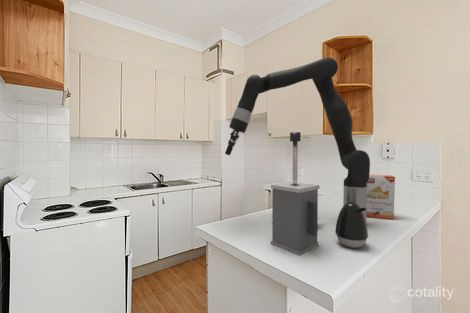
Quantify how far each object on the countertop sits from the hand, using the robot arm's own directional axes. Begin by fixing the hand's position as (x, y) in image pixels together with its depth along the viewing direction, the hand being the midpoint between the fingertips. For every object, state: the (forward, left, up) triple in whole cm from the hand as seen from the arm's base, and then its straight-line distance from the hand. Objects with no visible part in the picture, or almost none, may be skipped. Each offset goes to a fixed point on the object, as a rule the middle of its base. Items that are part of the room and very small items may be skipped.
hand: (227, 154), depth 103 cm
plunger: (-5, +32, -20) cm, 38 cm away
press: (-5, +34, -31) cm, 46 cm away
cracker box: (-64, +38, -32) cm, 81 cm away
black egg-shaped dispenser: (-20, +45, -32) cm, 59 cm away
